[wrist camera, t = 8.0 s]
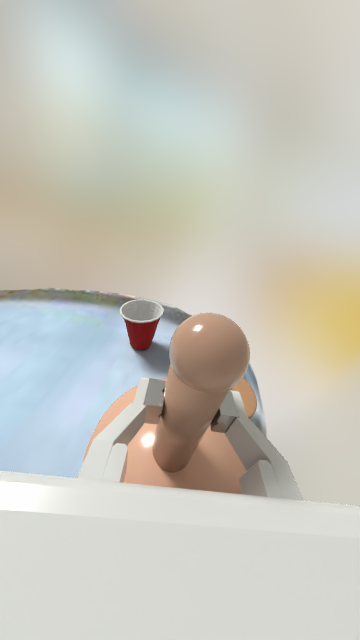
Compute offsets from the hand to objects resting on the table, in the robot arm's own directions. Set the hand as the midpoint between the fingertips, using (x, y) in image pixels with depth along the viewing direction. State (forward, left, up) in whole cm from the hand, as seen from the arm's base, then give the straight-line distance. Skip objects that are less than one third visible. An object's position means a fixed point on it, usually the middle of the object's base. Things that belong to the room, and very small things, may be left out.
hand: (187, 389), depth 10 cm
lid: (0, -1, -6) cm, 7 cm away
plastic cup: (+2, +31, -24) cm, 39 cm away
